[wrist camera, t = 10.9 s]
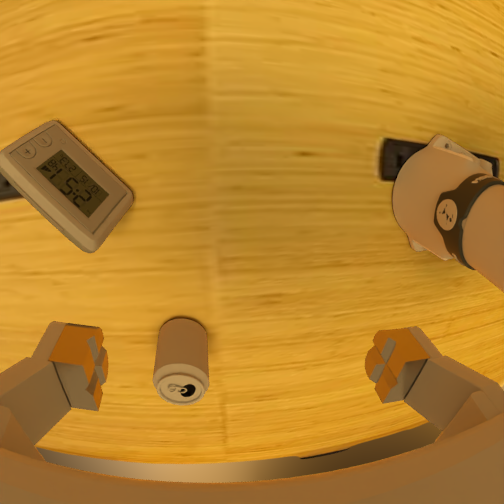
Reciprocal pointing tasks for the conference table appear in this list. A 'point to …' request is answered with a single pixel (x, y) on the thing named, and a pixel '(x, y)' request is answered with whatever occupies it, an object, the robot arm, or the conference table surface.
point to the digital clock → (66, 184)
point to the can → (181, 362)
